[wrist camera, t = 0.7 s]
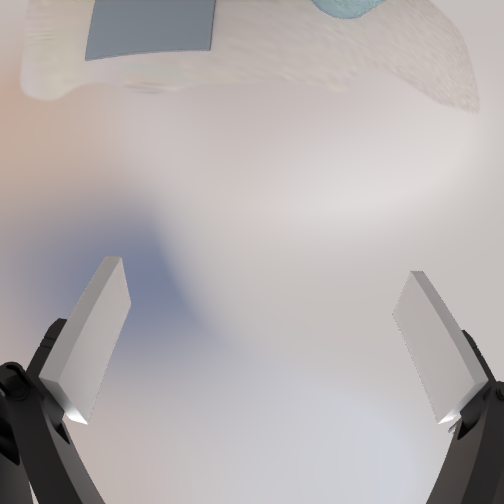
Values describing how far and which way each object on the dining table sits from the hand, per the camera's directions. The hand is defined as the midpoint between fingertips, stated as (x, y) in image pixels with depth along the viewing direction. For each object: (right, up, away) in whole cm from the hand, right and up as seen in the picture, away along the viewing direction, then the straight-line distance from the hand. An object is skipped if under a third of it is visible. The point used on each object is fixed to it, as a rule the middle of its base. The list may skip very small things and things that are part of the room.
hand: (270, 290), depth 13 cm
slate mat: (-13, +31, +14) cm, 36 cm away
